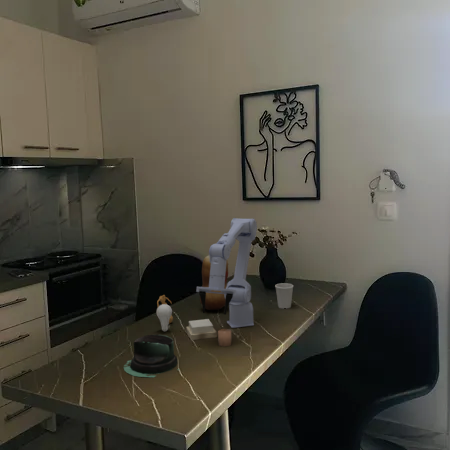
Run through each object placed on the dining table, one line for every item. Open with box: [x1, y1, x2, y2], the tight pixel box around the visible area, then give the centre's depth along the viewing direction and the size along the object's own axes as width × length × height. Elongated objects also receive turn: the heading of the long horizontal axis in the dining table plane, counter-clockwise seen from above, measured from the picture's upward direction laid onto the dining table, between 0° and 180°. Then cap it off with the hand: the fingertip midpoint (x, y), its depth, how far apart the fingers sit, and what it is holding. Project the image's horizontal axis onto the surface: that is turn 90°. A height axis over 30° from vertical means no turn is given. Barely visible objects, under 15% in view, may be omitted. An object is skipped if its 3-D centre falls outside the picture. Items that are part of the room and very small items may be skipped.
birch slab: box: [185, 326, 218, 341], centre depth 184 cm, size 10×10×2 cm
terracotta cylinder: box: [217, 328, 232, 347], centre depth 173 cm, size 5×5×5 cm
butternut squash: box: [199, 254, 229, 311], centre depth 214 cm, size 14×13×25 cm
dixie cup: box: [274, 282, 294, 310], centre depth 216 cm, size 8×8×10 cm
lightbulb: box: [156, 303, 173, 332], centre depth 188 cm, size 6×6×11 cm
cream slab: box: [188, 318, 214, 334], centre depth 184 cm, size 8×8×2 cm
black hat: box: [123, 334, 180, 378], centre depth 156 cm, size 20×20×9 cm
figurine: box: [156, 294, 174, 324], centre depth 198 cm, size 8×6×12 cm
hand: (214, 313), depth 173 cm, fingers open, 7 cm apart
